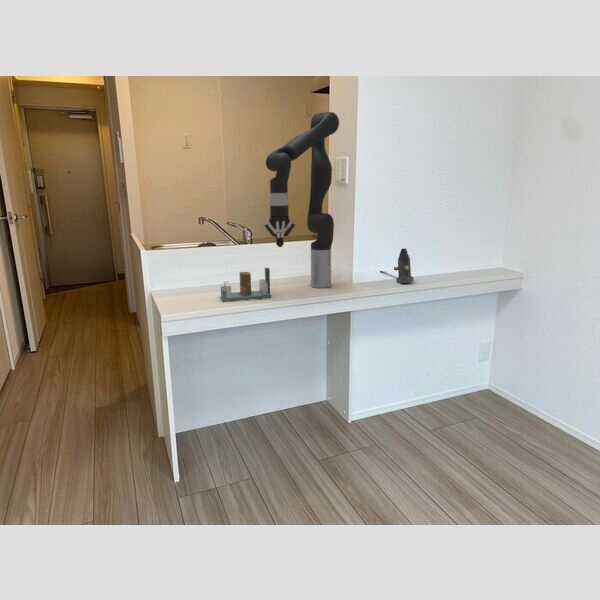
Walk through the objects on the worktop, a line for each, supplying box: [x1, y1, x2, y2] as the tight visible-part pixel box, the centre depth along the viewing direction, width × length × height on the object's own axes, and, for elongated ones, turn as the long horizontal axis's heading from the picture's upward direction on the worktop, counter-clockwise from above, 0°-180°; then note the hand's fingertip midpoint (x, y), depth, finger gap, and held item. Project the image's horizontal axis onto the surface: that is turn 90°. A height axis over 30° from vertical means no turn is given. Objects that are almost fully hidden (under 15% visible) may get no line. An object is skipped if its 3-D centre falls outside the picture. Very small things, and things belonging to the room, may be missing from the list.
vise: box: [220, 280, 272, 303], centre depth 195 cm, size 20×9×6 cm, turn 104°
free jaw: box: [258, 267, 271, 295], centre depth 196 cm, size 4×9×10 cm, turn 14°
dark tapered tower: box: [393, 248, 414, 284], centre depth 231 cm, size 6×16×30 cm
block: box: [238, 271, 252, 296], centre depth 194 cm, size 4×5×9 cm
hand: (280, 246), depth 194 cm, fingers closed
